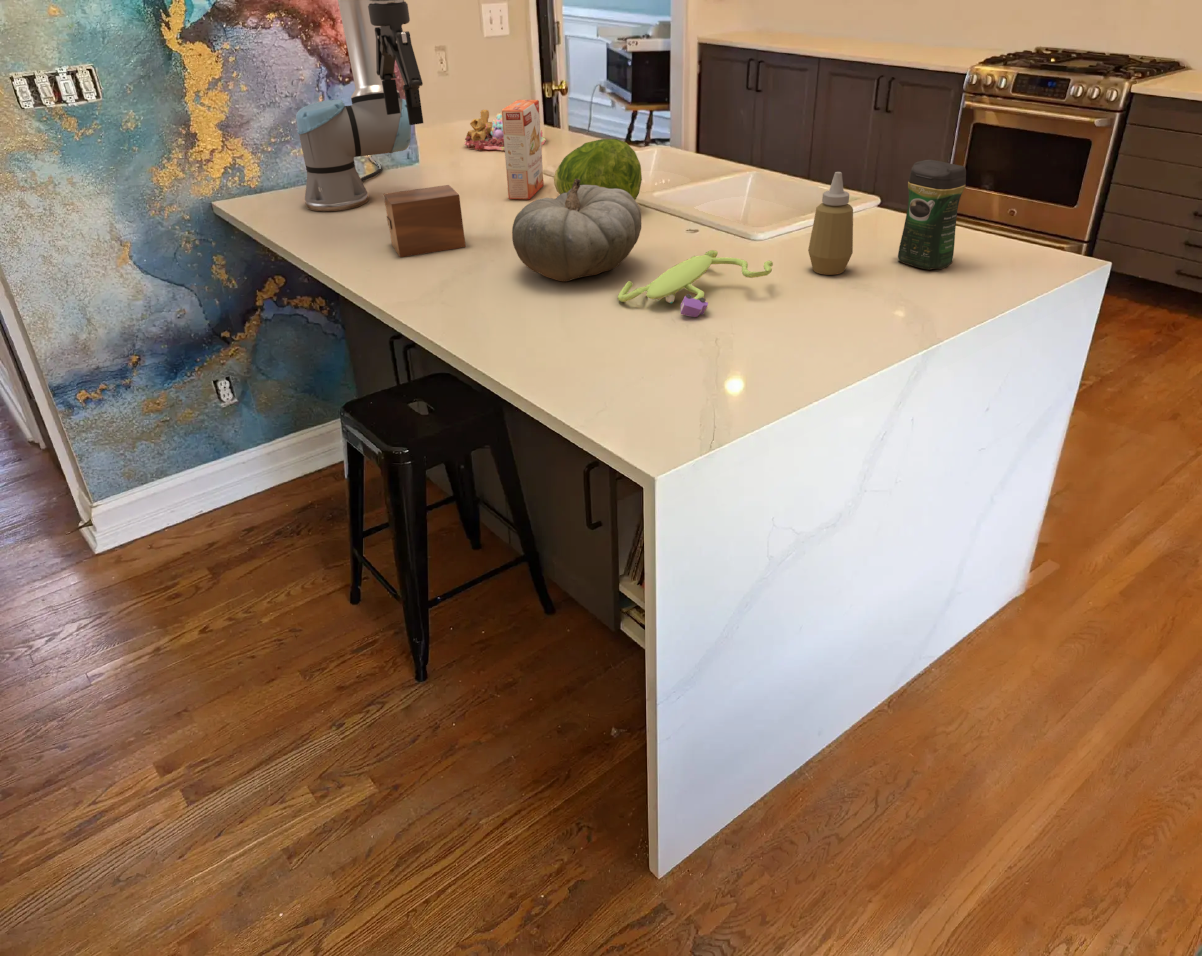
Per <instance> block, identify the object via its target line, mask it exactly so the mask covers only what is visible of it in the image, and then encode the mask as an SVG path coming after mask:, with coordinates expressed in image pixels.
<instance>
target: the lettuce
mask: <svg viewBox="0 0 1202 956" xmlns="http://www.w3.org/2000/svg"><path fill="white" fill-rule="evenodd" d="M641 165H642V164H641V163H640V160H639V158H638V155H637V152H636V151H635V150H634V148H632V147H631V146H630V145H629V144H628V143H627V142H626V141H623V140H621V139H619V138H601V139H596V140H592V141H587V142H584V143H583V144H582V145H580V146H578V147H577V148H575V149H573V150H572V151H571V152H569V153H568V154H567V155H565V156H564V157H563V159H562V161H561V162H560V163H559V165H558V166H557V168H556V169H555V171H554V175H553V185H554V188H555V190H556V192H557V193H558V194H559V195H560V194H562V193H567V192H568V191H569V190H570V189H571V188H572V186H573V183H574V181H575V179H580V185H596V186H599V187H605V188H608V189H621V190H624V191H626V192H628V193H629V194H630V195H631V196H632V197H633V199H634V200H635V201H636V200H637V198H638V196H639V195H640V191H641V187H642V186H641V185H642V180H643V179H642V178H643V177H642V176H643V175H642V166H641Z"/></svg>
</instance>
